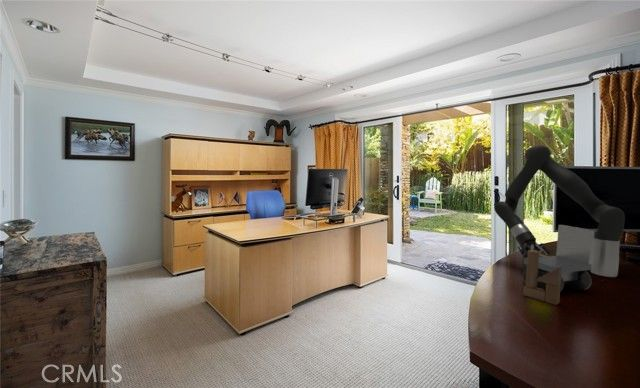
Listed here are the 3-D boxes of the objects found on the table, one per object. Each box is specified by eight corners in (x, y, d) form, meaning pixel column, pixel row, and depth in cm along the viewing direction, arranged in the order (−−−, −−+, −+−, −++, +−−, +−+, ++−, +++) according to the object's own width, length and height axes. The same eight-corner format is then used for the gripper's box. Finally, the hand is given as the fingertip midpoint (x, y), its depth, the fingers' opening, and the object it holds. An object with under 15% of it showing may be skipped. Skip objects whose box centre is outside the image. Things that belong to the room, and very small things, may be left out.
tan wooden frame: (556, 305, 109) (559, 256, 108) (522, 295, 118) (525, 250, 117) (559, 303, 111) (563, 255, 110) (526, 293, 120) (529, 249, 119)
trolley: (553, 279, 137) (557, 224, 136) (593, 292, 122) (598, 230, 120) (519, 282, 132) (523, 225, 130) (556, 297, 117) (561, 232, 115)
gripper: (516, 231, 145) (537, 261, 135) (539, 230, 149) (561, 259, 138) (506, 239, 150) (526, 269, 140) (528, 238, 154) (549, 267, 144)
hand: (543, 264), depth 139 cm, fingers open, 8 cm apart
